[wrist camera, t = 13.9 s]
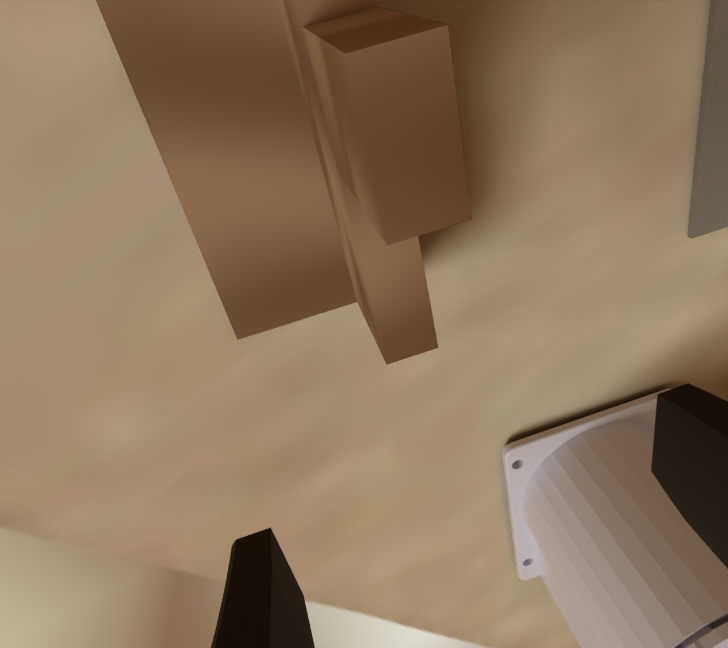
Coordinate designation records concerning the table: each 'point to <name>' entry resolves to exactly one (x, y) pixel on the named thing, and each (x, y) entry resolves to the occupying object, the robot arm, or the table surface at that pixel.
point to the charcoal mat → (712, 132)
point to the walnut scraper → (304, 151)
